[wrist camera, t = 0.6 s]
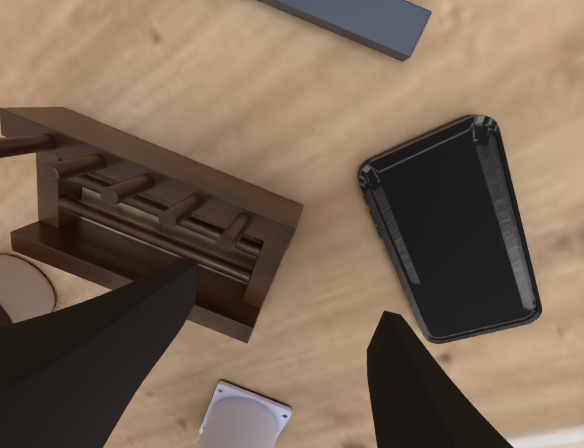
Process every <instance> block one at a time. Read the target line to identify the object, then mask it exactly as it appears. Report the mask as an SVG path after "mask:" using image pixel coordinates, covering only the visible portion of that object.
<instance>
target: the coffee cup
mask: <svg viewBox="0 0 584 448" xmlns="http://www.w3.org/2000/svg"><path fill="white" fill-rule="evenodd" d="M54 303H55V297H54V292H53V290H52V287H51V285H50V284H49V282H48V281H47V279H46V278H45V277H44V276H43V275H42V274H41V273H40V272H39V271H38V270H37V269H36V268H35V267H33V266H32V265H31V264H29V263H27V262H25V261H24V260H21V259H19V258H16V257H13V256H8V255H0V327H1V326H5V325H9V324H13V323H16V322H20V321H23V320H27V319H30V318H34V317H37V316H41V315H44V314H48V313H50V312H51V311H52V309H53V307H54Z"/></svg>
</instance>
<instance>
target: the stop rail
mask: <svg viewBox="0 0 584 448" xmlns="http://www.w3.org/2000/svg"><path fill="white" fill-rule="evenodd" d="M259 1H261V2H263V3H266V4H268V5H270V6H273V7H275V8H278V9H280V10H282V11H285V12H287V13H289V14H292V15H294V16H297V17H299V18H301V19H304V20H306V21H309V22H311V23H313V24H316V25H318V26H320V27H323V28H325V29H328V30H330V31H332V32H335V33H337V34H339V35H342V36H344V37H347V38H349V39H351V40H354V41H356V42H359V43H361V44H363V45H366V46H368V47H370V48H373V49H375V50H378V51H380V52H382V53H385V54H387V55H390V56H392V57H394V58H397V59H399V60H401V61H405V60H406V59H408V58H409V57H410V56H411V55H412V52H413V50H414V48H415V46H416V44H417V42H418V40H419V38H420V36H421V34H422V32H423V30H424V28H425V26H426V23H427V21H428V19H429V17H430V15H431V11H429V10H427V9H424V8H422V7H419V6H417V5H415V4H412V3H410V2H408V1H405V0H259Z"/></svg>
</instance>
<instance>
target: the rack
mask: <svg viewBox="0 0 584 448" xmlns="http://www.w3.org/2000/svg"><path fill="white" fill-rule="evenodd" d="M0 123H1V134H2V135H3V136H5V138H0V158H4V157H10V156H16V155H22V154H29V153H35V152H36V166H37V192H38V218H39V221H37V222H35V223H32V224H29V225H27V226H24V227H22V228H19V229H17V230H14V231H12V232H10V234H11V245H12V250H13V251H15V252H18V253H20V254H23V255H25V256H28V257H30V258H33V259H35V260H38V261H40V262H43V263H45V264H48V265H51V266H53V267H56V268H58V269H61V270H63V271H66V272H68V273H71V274H73V275H76V276H78V277H81V278H83V279H86V280H88V281H91V282H93V283H96V284H98V285H101V286H104V287H106V288H109V289H111V290H115V289H117V288H119V287H122V286H124V285H126V284H129V283H131V282H133V281H136V280H138V279H140V278H142V277H144V276H146V275H148V274H150V273H153V272H155V271H157V270H159V269H161V268H163V267H165V266H167V265H169V264H171V263H173V262H176V261H178V260H180V259H179V258H177V257H174V256H172V255H169V254H167V253H164V252H162V251H159V250H157V249H154V248H152V247H149V246H147V245H144V244H142V243H139V242H137V241H134V240H132V239H129V238H127V237H124V236H122V235H119V234H117V233H114V232H112V231H109V230H107V229H104V228H102V227H99V226H97V225H94V224H92V223H89V222H87V221H84V220H82V219H80V216H82V217H84V218H87V219H89V220H92V221H94V222H97V223H99V224H102V225H104V226H107V227H109V228H112V229H114V230H117V231H119V232H122V233H124V234H127V235H129V236H132V237H134V238H137V239H139V240H142V241H144V242H147V243H149V244H152V245H154V246H157V247H159V248H162V249H164V250H167V251H169V252H172V253H174V254H177V255H179V256H182V257H184V258H187V259H189V260H192V261H196V262H198V263H199V264H202V265H204V266H207V267H209V268H212V269H214V270H217V271H219V272H222V273H224V274H227V275H229V276H232V277H234V278H237V279H239V280H242V281H244V282H247V283H248V282H249V283H248V285H244V284H242V283H239V282H237V281H234V280H232V279H229V278H227V277H224V276H222V275H219V274H217V273H214V272H212V271H209V270H207V269H204V268H202V267H199V266H198V272H197V285H196V299H195V305H194V307H193V309H192V310H191V312H190V314H189V316H188V318H187V320H189V321H192V322H194V323H197V324H199V325H202V326H205V327H207V328H210V329H212V330H215V331H217V332H220V333H222V334H225V335H227V336H230V337H232V338H235V339H237V340H240V341H242V342H245V343H248V341H249V339H250V336H251V334H252V332H253V329H254V327H255V324H256V321H257V318H258V316H259V313H260V310H261V308H262V305H263V303H264V301H265V298H266V296H267V293H268V291H269V289H270V286H271V284H272V282H273V279H274V277H275V275H276V272H277V270H278V268H279V265H280V263H281V260H282V258H283V256H284V253H285V251H286V250H287V249H288V247H289V245H290V242H291V240H292V238H293V235H294V233H295V231H296V228H297V225H298V222H299V219H300V215H301V212H302V209H303V205H301V204H299V203H297V202H294V201H292V200H289V199H287V198H284V197H282V196H279V195H277V194H274V193H272V192H269V191H267V190H265V189H262V188H260V187H257V186H255V185H252V184H250V183H247V182H245V181H242V180H240V179H238V178H235V177H233V176H230V175H228V174H225V173H223V172H220V171H218V170H215V169H213V168H211V167H208V166H206V165H203V164H201V163H198V162H196V161H193V160H191V159H188V158H186V157H184V156H181V155H179V154H176V153H174V152H171V151H169V150H166V149H164V148H161V147H159V146H156V145H154V144H152V143H149V142H147V141H144V140H142V139H139V138H137V137H134V136H132V135H129V134H127V133H125V132H122V131H120V130H117V129H115V128H112V127H110V126H107V125H105V124H102V123H100V122H98V121H95V120H93V119H90V118H88V117H85V116H83V115H80V114H78V113H75V112H73V111H71V110H68V109H66V108H63V107H34V108H0ZM90 172H94V173H97V174H99V175H102V176H104V177H107V178H109V179H112V180H114V181H117V182H119V183H117V184H113V183H110V182H108V181H105V180H103V179H100V178H98V177H96V176H93V175H91V174H88V173H90ZM81 186H82V187H84V188H87V189H89V190H92V191H94V192H97V193H99V194H100V196H101V199H102V200H103V202H104V203H106V204H107V205H111V206H113V205H116V204H118V203H120V202H121V203H124V204H126V205H129V206H131V207H134V208H136V209H139V210H141V211H144V212H146V213H149V214H151V215H154V216H156V217H159V222H160V224H161V225H162V226H163V227H165V228H167V229H172V228H174V227H175V226H177V225H179V226H181V227H184V228H186V229H189V230H191V231H194V232H196V233H198V234H201V235H203V236H206V237H208V238H211V239H213V240H216V241H217V245H218V247H219V248H220V249H221V250H223V251H231V250H233V249H234V248H236V249H238V250H241V251H243V252H246V253H248V254H251V255H253V256H256V257H258V259H257V261H256V264H255V267H254V269H253V270H252V269H249V268H247V267H244V266H242V265H239V264H237V263H234V262H232V261H229V260H227V259H224V258H222V257H219V256H217V255H214V254H212V253H209V252H207V251H204V250H202V249H199V248H197V247H194V246H192V245H189V244H187V243H184V242H182V241H179V240H177V239H174V238H172V237H169V236H167V235H164V234H162V233H159V232H157V231H154V230H152V229H149V228H147V227H144V226H142V225H139V224H137V223H134V222H132V221H129V220H127V219H124V218H122V217H119V216H117V215H114V214H112V213H109V212H107V211H104V210H102V209H100V208H97V207H95V206H92V205H90V204H87V203H85V202H82V201H81ZM142 192H144V193H146V194H149V195H151V196H154V197H156V198H159V199H161V200H164V201H166V202H169V203H171V204H174V205H173V206H171V207H170V206H167V205H165V204H162V203H160V202H158V201H155V200H153V199H150V198H148V197H145V196H143V195H140V193H142ZM192 213H196V214H199V215H201V216H203V217H206V218H208V219H211V220H213V221H216V222H218V223H221V224H223V225H226V226H228V227H227V228H226V229H224V228H222V227H219V226H217V225H215V224H212V223H210V222H207V221H205V220H202V219H200V218H197V217H195V216H192V215H191V214H192ZM244 233H246V234H248V235H251V236H253V237H256V238H258V239H260V240H263V241H264V243H263V244H262V243H259V242H257V241H254V240H252V239H249V238H247V237H244V236H243V234H244Z"/></svg>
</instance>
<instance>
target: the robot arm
mask: <svg viewBox="0 0 584 448" xmlns="http://www.w3.org/2000/svg"><path fill="white" fill-rule="evenodd" d="M197 272H198V262H196V261H192V260H188V259H184V258H182V259H180V260H178V261H176V262H173V263H171V264H169V265H167V266H165V267H163V268H161V269H159V270H157V271H155V272H153V273H150V274H148V275H146V276H144V277H142V278H140V279H138V280H136V281H133V282H131V283H129V284H126V285H124V286H122V287H119V288H117V289H115V290H112V291H110V292H107V293H105V294H103V295H100V296H98V297H95V298H93V299H90V300H87V301H84V302H82V303H79V304H76V305H73V306H70V307H67V308H64V309H61V310H58V311H55V312H51V313H48V314H44V315H41V316H37V317H34V318H30V319H27V320H23V321H20V322H16V323H13V324H9V325H5V326H1V327H0V448H103V446H104V445H105V443H106V441H107V440H108V438H109V436H110V434H111V433H112V431H113V429H114V427H115V426H116V424H117V422H118V421H119V419H120V417H121V416H122V414H123V412H124V411H125V409H126V407H127V406H128V404H129V402H130V401H131V399H132V397H133V396H134V394H135V392H136V391H137V390H138V388H139V387H140V385H141V384H142V382H143V381H144V379H145V378H146V376H147V375H148V374H149V372H150V371H151V370H152V368H153V367H154V365H155V364H156V363H157V361H158V360H159V359H160V357H161V356H162V355H163V353H164V352H165V350H166V349H167V348H168V346H169V345H170V344H171V342H172V341H173V339H174V338H175V337H176V335H177V334H178V332H179V331H180V330H181V328H182V327H183V325H184V323H185V321H186V320H187V318H188V316H189V314H190V312H191V310H192V309H193V307H194V305H195V299H196V285H197ZM367 377H368V385H369V392H370V399H371V406H372V413H373V420H374V427H375V434H376V440H377V447H378V448H513V447H512V446H511V445H510V444H509V443H508V442H507V441H506V440H505V439H504V438H503V437H502V436H501V435H500V434H499V433H498V432H497V431H496V430H495V428H494V427H493V426H492V425H491V424H490V423H489V422H488V421H487V420H486V419H485V418H484V417H483V416H482V415H481V414H480V413H479V412H478V410H477V409H476V408H475V407H474V406H473V405H472V404H471V403H470V402H469V400H468V399H467V398H466V397H465V396H464V395H463V393H462V392H461V391H460V390H459V389H458V388H457V386H456V385H455V384H454V383H453V382H452V380H451V379H450V378H449V377H448V376H447V374H446V373H445V372H444V371H443V369H442V368H441V367H440V366H439V364H438V363H437V362H436V361H435V359H434V358H433V357H432V355H431V354H430V353H429V351H428V350H427V349H426V347H425V346H424V345H423V343H422V342H421V341H420V339H419V338H418V337H417V335H416V334H415V333H414V331H413V330H412V329H411V327H410V326H409V325H408V323H407V322H406V321H405V319H404V318H403V317H402V316H401V315H400V314H396V313H392V312H388V311H385V310H384V312H383V315H382V317H381V319H380V321H379V324H378V326H377V328H376V330H375V333H374V335H373V337H372V339H371V342H370V344H369V346H368V348H367ZM291 414H292V409H291V408H290V407H287V406H285V405H282V404H280V403H277V402H275V401H272V400H270V399H267V398H264V397H262V396H259V395H257V394H254V393H252V392H249V391H247V390H244V389H242V388H239V387H236V386H234V385H231V384H229V383H226V382H224V381H220V382H218V384H217V387H216V389H215V392H214V395H213V397H212V400H211V402H210V405H209V407H208V410H207V412H206V415H205V417H204V420H203V422H202V425H201V427H200V430H199V432H200V434H202V435H201V437H200V440H199V442H198V444H197V447H196V448H274V446H275V441H276V438H277V437H278V435H279V433H280V432H281V430H282V429H283V427H284V426H285V424H286V422H287V421H288V419H289V418H290V416H291Z"/></svg>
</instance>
